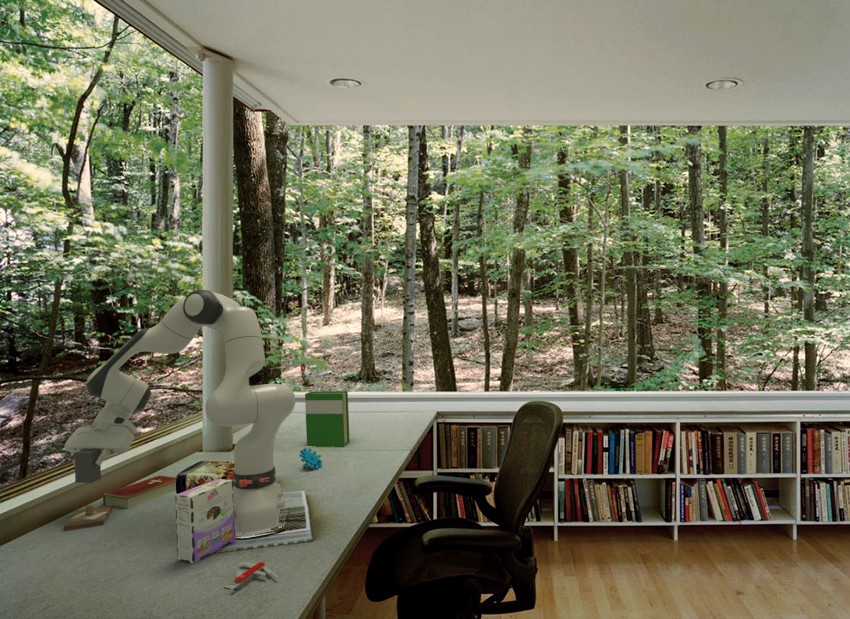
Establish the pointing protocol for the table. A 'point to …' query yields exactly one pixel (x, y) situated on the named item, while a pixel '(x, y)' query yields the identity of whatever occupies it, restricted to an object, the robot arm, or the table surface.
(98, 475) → the block
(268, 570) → the swiss army knife
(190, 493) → the candy box
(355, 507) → the table surface
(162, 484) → the hardcover book
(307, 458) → the gear
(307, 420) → the hardback book
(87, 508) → the board
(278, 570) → the table surface
